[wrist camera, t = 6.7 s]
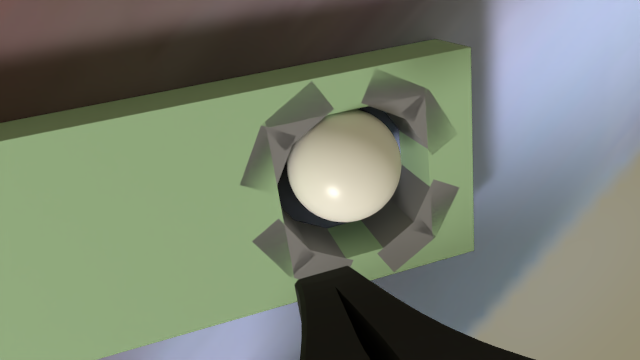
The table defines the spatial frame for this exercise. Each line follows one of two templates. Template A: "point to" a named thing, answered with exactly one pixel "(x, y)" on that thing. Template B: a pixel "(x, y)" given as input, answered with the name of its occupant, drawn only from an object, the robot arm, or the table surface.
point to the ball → (345, 166)
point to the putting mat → (216, 200)
